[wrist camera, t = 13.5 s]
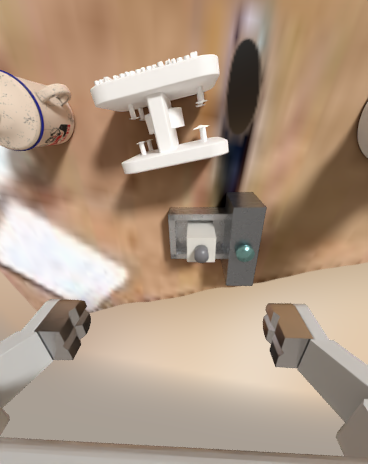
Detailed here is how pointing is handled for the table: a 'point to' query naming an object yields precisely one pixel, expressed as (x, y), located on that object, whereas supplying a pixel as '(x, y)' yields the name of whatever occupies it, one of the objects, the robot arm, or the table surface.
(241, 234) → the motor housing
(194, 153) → the cable organizer
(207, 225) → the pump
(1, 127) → the teacup with lid
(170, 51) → the table surface
